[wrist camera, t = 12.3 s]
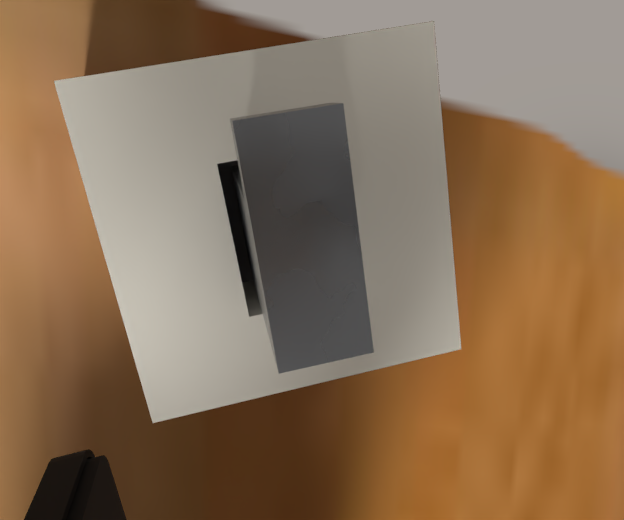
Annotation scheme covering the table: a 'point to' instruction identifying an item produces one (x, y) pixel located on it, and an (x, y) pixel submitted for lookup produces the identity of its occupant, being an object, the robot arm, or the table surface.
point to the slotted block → (226, 217)
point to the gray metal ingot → (303, 233)
